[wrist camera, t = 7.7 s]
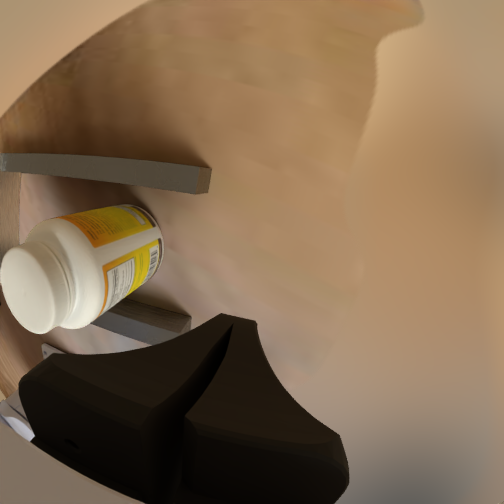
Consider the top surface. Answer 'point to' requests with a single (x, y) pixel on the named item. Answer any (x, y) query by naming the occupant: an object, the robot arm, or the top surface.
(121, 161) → the bay
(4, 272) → the supplement bottle
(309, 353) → the top surface
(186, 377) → the robot arm
